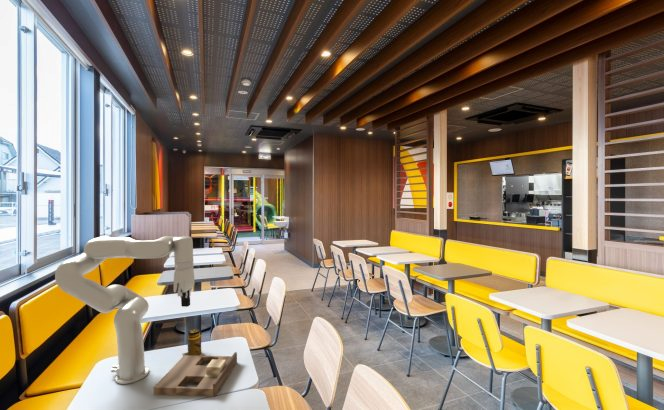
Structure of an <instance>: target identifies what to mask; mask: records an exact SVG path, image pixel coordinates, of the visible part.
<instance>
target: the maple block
mask: <svg viewBox="0 0 664 410" xmlns="http://www.w3.org/2000/svg"><path fill="white" fill-rule="evenodd" d="M225 366H226V360H218V359H212V360H211V362H210V363H209V364H208V365H207V367H206V375H218V376H219V374H220V373H221V372H222V370H223V369H224V367H225Z"/></svg>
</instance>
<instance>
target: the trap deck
mask: <svg viewBox="0 0 664 410" xmlns="http://www.w3.org/2000/svg"><path fill="white" fill-rule="evenodd" d="M212 359H218V360H226V366H225V367H224V369H223V370H222V372H221V373H220V374H219V376H218V375H206V367H207V365H208V364H209V363H210V362H211V360H212ZM237 364H238V352H237V351H235V352H234V353H233V354H232V355H231V356H230V355H229V356H228V355H227V356H226V355H224V356H223V355H203V356H192V355H184V356H183V355H182V357H181V358H180V359H179V360H178V362H176V364H174V365H173V366H172V367H171V368H170V369H169V371H168V372H167V373H166V374H165V375H164V376H163V377H162V378H161V379H160V380H159V381H158V382H157V383H156V384H155V385H154V386H153V395H154V396H157V395H158V396H181V397H182V396H185V397H186V396H187V397H189V396H190V397H193V396H194V397H217V395H218V394H219V392H220V391H221V389H222V388H223V386H224V385H225V383H226V381H227V380H228V379H229V376H231V373H232V371H233V370H234V369H235V367H236V365H237Z"/></svg>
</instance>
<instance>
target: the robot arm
mask: <svg viewBox="0 0 664 410" xmlns="http://www.w3.org/2000/svg"><path fill="white" fill-rule="evenodd" d="M193 245H194V242H193V238H192V236H190V235H189V236H188V235H187V236H185V235H184V236H171V235H170V236H169V235H167V236H166V235H164V236H161V237H159V238H158V239H154V240H136V239H133V238H132V237H129V236H127V237H126V236H125V237H123V236H122V237H120V236H119V237H112V236H110V235H100V236H98V237H97V236H96V237H94V238H92V239H90V240H88V241H87V242H86V243H85V245H84V247H83V252H82V253H80V254H79V255H76V256H73V257H71V258H69V259H66V260H65V261H63V262H62V263H60V264H59V265H58V267H56V270H55V273H54V274H55V275H54V278H55V283H56V285H57V286H58V287H59V288H60V290H61V291H62V292H64V293H66V294H68V295H70V296H72V297H73V298H76V299H77V300H79V301H80V302H82V303H84V304H86V305H87V306H89V307H91V308H92V309H94V310H96V311H97V312H99V313H102V314H107V313H111V312H113V311H114V310H115V309H118V310H117V311H116V313H115V314H114V317H113V324H114V328H115V335H116V343H117V344H116V345H117V361H118V364H113V365H112V368H111V370H110V372H111V373H116V375H115V376H114V381H115V383H117V384H119V385H128V384H129V385H130V384H132V383H135V382H139V381H140V380H142V379H144V378H145V377H146V376H147V375H148V374H149V372H150V368H149V366H147V365H146V364H145V362H146V361H145V347H144V345H145V344H144V331H143V327H142V324H141V323H142V322H141V321H142V319H143V318H144V317H145V316H146V315H147V312H148V311H149V306H150V305H149V302H148V301H147V300H146V299H145V298H144V297H143V296H141V295H140V294H139V293H136V292H135V291H133V290H131V289H130V288H128V287H126V286H124V285H121V284H111V285H109V286H104V285H101V284H100V283H98V282H97V281H95V280H93V279H89V278H86V277H85V275H87V274H89V273H91V272H92V271H95V269H96V268H98V266H100V265H102V263H103V262H104V261H105V260H107V259H121V258H129V259H137V260H139V259H140V260H147V259H160V258H164V257H167V255H169V254H172V253H173V256H174V257H173V259H174V272H173V273H174V274H173V292H174V294H175V293H176V294H177V297H179V298H180V304H181V305H180V306H181V307H183V308H185V307H186V308H187V307H189V306H191V291H192V290H193V288H194V287H195V283H196V282H195V281H196V280H195V271H194V268H195V267H194V265H195V264H194V246H193Z"/></svg>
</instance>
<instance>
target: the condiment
mask: <svg viewBox="0 0 664 410" xmlns="http://www.w3.org/2000/svg"><path fill="white" fill-rule="evenodd" d="M200 331H201V330H200V329H199V328H191V329H189V330H188V331H187V352H184V353H181V355H182V357H183V356H184V355H192V356H204V353H203V351H202V335H201V332H200Z"/></svg>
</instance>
